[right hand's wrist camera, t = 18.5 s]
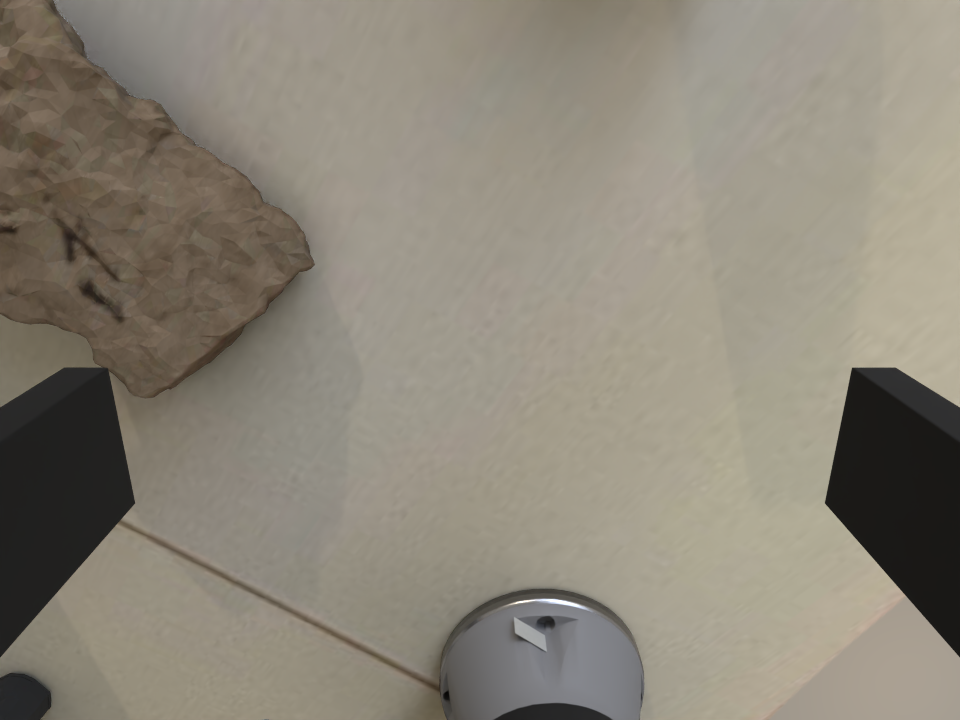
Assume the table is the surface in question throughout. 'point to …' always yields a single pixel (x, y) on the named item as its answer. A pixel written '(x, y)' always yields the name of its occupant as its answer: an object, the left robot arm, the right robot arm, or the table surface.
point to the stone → (123, 215)
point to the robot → (22, 698)
